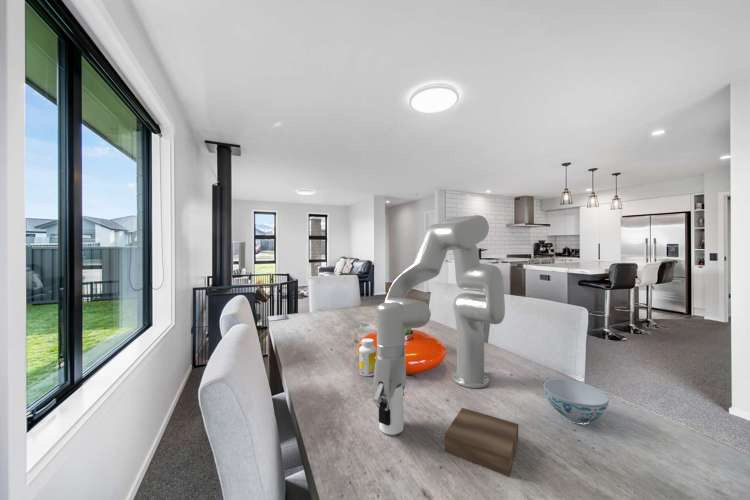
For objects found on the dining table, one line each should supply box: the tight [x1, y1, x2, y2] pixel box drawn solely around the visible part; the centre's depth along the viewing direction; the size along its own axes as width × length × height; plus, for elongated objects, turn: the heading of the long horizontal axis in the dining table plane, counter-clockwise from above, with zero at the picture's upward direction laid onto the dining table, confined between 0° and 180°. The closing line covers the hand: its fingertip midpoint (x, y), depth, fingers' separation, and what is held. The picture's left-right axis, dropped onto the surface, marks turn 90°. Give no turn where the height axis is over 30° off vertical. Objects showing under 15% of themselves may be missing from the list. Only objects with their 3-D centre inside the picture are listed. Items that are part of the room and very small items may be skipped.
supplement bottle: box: [358, 338, 377, 377], centre depth 112 cm, size 7×7×13 cm
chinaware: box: [543, 378, 610, 424], centre depth 81 cm, size 15×15×8 cm
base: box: [443, 407, 519, 478], centre depth 70 cm, size 14×14×4 cm
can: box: [378, 383, 404, 436], centre depth 77 cm, size 6×6×12 cm
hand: (391, 416), depth 77 cm, fingers closed on can, 6 cm apart
